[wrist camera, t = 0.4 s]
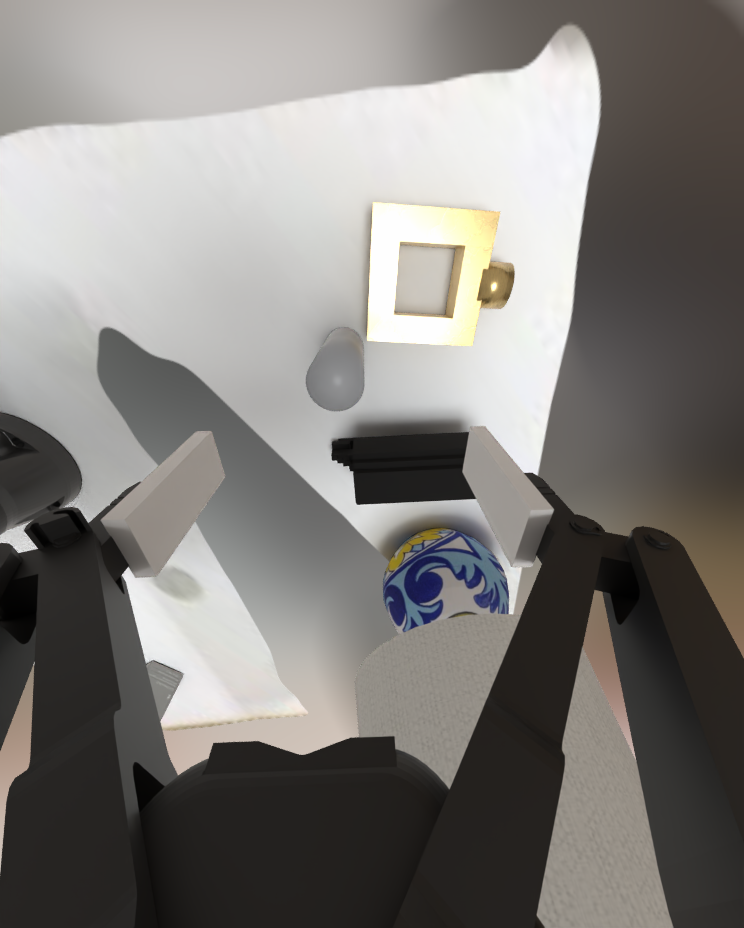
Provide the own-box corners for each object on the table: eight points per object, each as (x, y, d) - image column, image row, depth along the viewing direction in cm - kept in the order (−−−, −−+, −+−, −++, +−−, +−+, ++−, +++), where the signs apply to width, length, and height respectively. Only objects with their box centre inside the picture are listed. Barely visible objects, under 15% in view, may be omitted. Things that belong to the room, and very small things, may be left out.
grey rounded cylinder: (325, 366, 36) (307, 409, 24) (324, 326, 34) (304, 352, 22) (362, 368, 37) (362, 412, 25) (364, 328, 34) (365, 355, 22)
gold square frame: (366, 335, 35) (367, 341, 31) (372, 210, 29) (373, 201, 26) (484, 341, 35) (497, 348, 32) (511, 220, 30) (531, 213, 26)
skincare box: (184, 673, 72) (143, 765, 58) (166, 683, 74) (122, 774, 60) (151, 658, 68) (99, 753, 54) (133, 669, 70) (78, 763, 57)
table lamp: (428, 464, 44) (666, 1135, 10) (547, 543, 53) (892, 1038, 18) (327, 570, 55) (267, 1060, 20) (439, 621, 63) (528, 1022, 29)
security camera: (330, 423, 40) (322, 462, 32) (472, 416, 40) (501, 453, 32) (336, 468, 44) (329, 514, 35) (465, 461, 44) (491, 506, 35)
